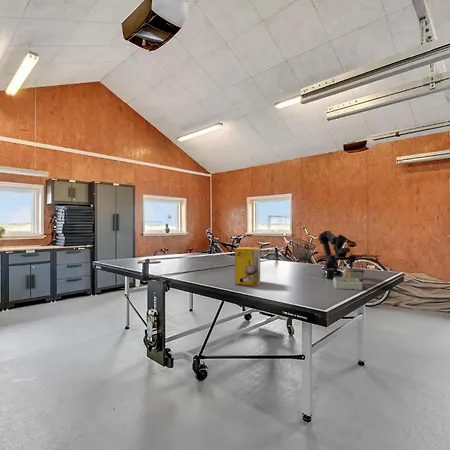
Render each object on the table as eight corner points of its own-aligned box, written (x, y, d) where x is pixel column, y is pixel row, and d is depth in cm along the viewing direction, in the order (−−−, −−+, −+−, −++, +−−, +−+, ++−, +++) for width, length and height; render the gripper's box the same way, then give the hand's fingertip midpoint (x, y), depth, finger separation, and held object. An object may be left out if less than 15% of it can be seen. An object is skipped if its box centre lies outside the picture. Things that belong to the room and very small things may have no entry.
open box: (333, 283, 211) (333, 277, 211) (357, 285, 206) (357, 278, 206) (335, 288, 195) (335, 281, 195) (362, 290, 191) (362, 283, 191)
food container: (363, 282, 215) (363, 269, 215) (364, 284, 209) (364, 270, 209) (344, 281, 218) (344, 268, 218) (345, 283, 212) (345, 269, 212)
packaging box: (258, 285, 204) (258, 249, 204) (234, 284, 208) (234, 248, 208) (260, 281, 220) (260, 247, 220) (238, 280, 223) (238, 247, 223)
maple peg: (342, 286, 202) (342, 268, 202) (346, 285, 204) (346, 268, 204) (347, 287, 198) (347, 269, 198) (352, 287, 200) (352, 269, 200)
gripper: (328, 243, 209) (334, 261, 198) (355, 243, 209) (362, 261, 198) (325, 253, 217) (330, 271, 206) (350, 253, 217) (357, 271, 206)
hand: (345, 268), depth 204 cm, fingers open, 9 cm apart
